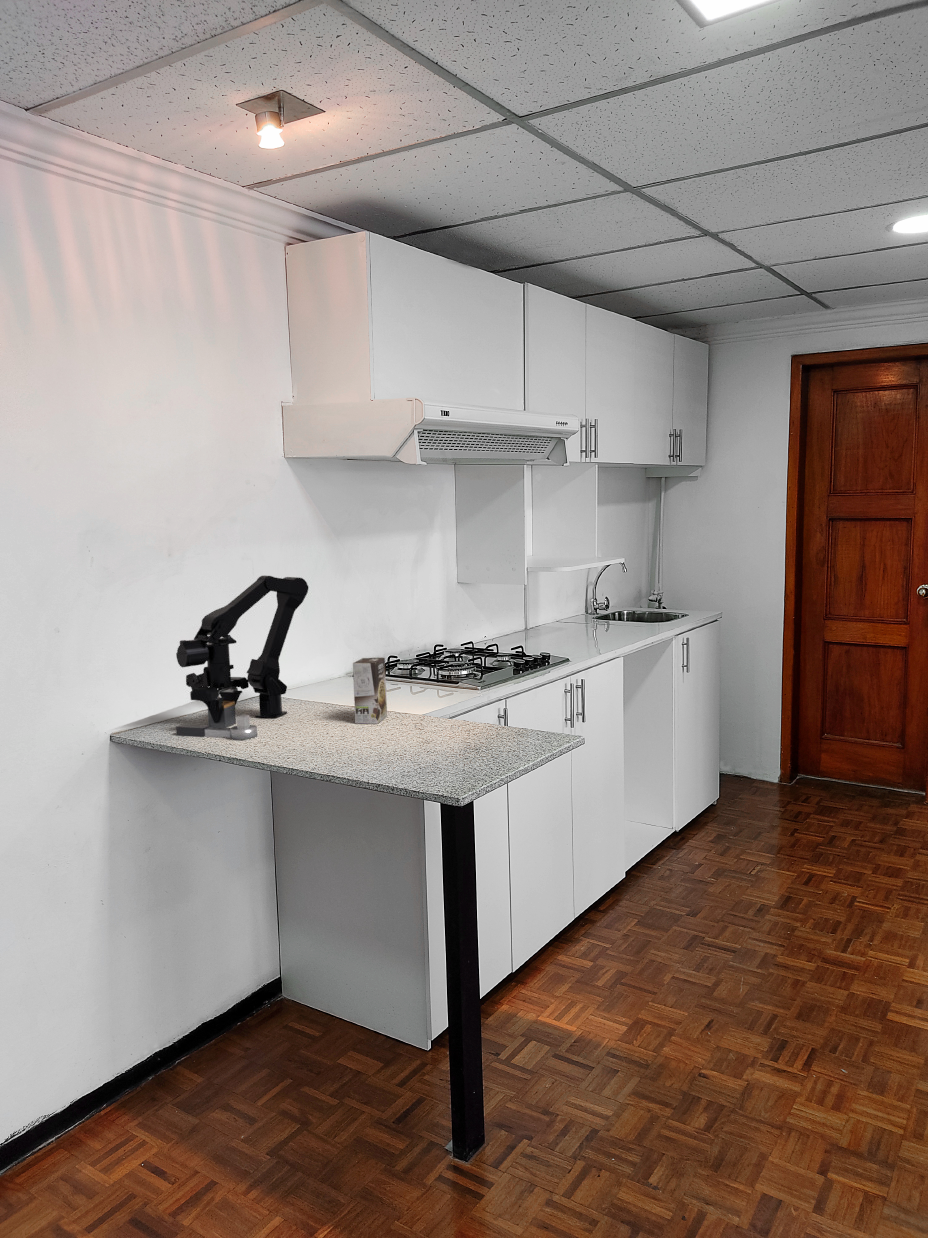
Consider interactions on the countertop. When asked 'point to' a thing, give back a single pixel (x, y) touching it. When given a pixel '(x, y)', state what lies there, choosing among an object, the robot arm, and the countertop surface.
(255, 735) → the ratchet
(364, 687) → the coffee box
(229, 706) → the grey block
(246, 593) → the robot arm
